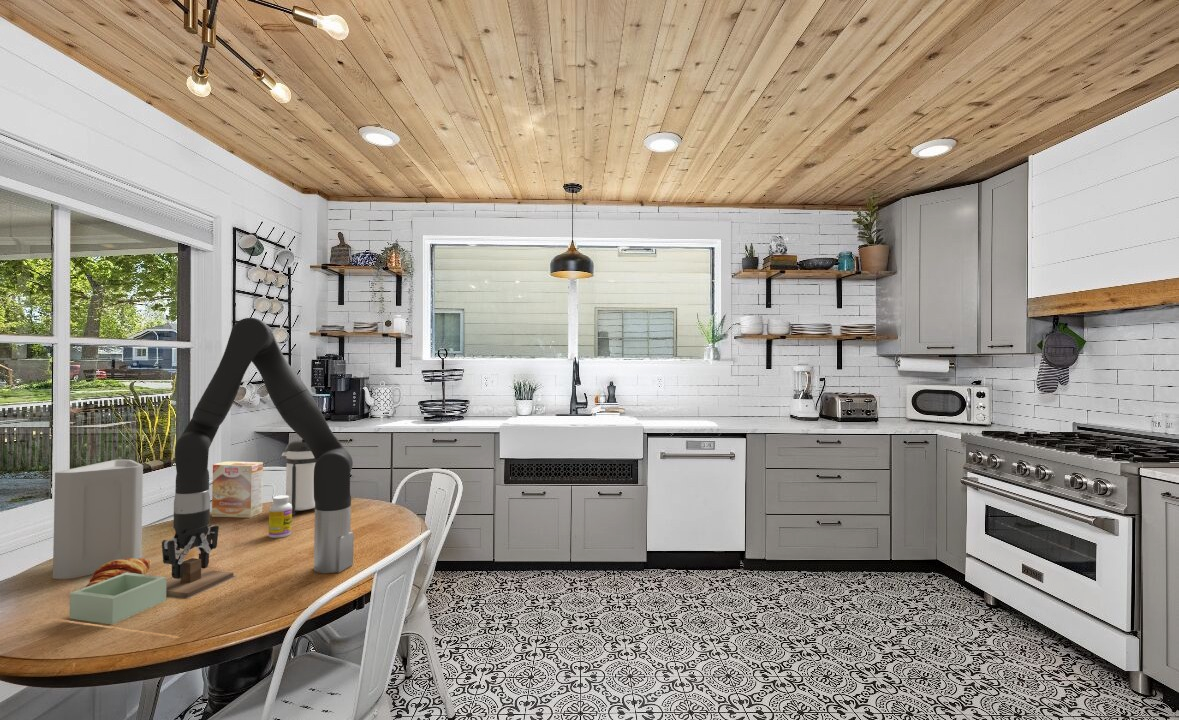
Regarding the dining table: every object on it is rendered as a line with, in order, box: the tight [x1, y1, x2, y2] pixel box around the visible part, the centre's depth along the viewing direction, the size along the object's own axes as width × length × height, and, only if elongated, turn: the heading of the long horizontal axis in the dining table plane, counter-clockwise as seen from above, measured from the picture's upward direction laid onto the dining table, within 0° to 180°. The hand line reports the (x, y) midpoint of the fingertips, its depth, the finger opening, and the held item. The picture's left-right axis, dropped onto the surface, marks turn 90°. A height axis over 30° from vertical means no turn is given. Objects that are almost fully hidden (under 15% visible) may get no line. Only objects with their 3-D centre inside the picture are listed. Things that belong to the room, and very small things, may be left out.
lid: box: [166, 557, 235, 598], centre depth 137 cm, size 13×13×6 cm
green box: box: [69, 572, 168, 627], centre depth 123 cm, size 12×12×6 cm
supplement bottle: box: [268, 494, 293, 539], centre depth 177 cm, size 7×7×13 cm
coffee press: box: [281, 438, 316, 517], centre depth 207 cm, size 17×16×30 cm
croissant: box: [85, 557, 152, 587], centre depth 138 cm, size 21×10×8 cm, turn 8°
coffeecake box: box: [211, 460, 264, 519], centre depth 199 cm, size 15×7×20 cm, turn 88°
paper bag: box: [52, 459, 144, 580], centre depth 150 cm, size 19×15×28 cm
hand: (190, 572), depth 137 cm, fingers open, 6 cm apart
